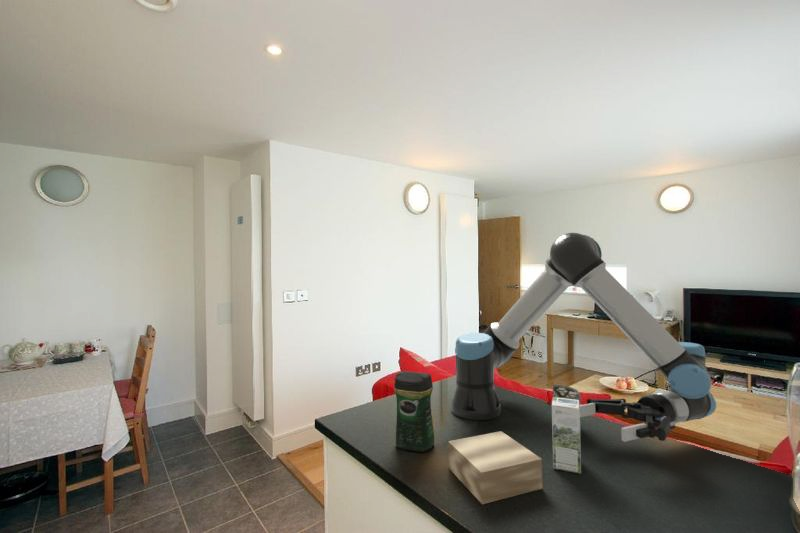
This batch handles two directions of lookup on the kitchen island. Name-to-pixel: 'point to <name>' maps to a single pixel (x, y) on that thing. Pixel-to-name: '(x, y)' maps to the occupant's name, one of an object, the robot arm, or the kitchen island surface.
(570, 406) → the syrup box
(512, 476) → the oak plinth
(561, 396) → the food container
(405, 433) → the coffee jar
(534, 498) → the kitchen island surface
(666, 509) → the kitchen island surface
